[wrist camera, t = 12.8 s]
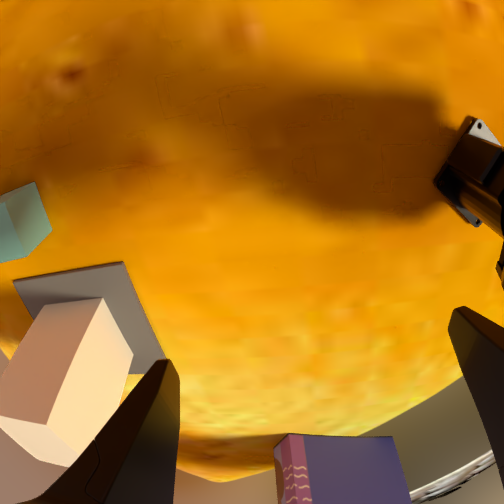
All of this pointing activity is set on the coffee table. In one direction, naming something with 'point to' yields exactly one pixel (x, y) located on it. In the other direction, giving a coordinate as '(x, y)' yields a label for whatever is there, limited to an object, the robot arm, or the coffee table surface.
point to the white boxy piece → (64, 380)
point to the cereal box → (339, 470)
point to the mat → (115, 296)
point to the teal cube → (21, 222)
